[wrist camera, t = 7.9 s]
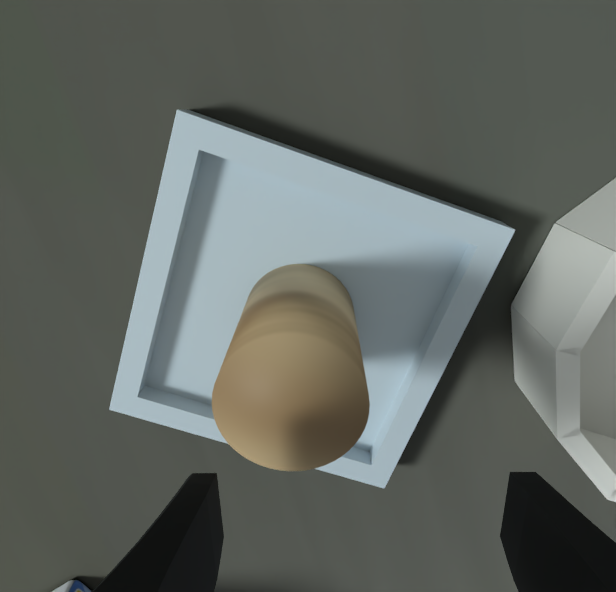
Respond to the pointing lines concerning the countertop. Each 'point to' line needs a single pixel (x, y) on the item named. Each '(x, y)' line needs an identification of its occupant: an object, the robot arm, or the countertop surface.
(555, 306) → the white faceted bowl
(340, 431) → the oak plug
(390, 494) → the countertop surface
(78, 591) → the ink cartridge box
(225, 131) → the blue-grey tray
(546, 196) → the countertop surface
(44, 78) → the countertop surface
